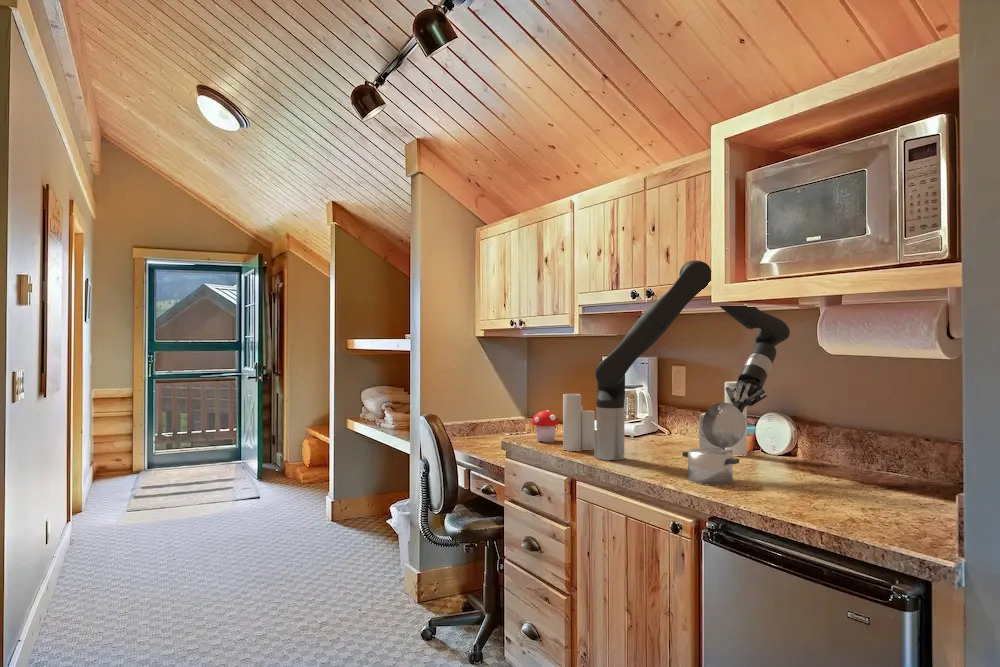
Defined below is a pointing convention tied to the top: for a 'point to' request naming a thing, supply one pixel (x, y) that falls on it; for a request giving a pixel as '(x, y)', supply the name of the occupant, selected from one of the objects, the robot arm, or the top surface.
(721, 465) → the pot
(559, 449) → the top surface
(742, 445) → the cylindrical container
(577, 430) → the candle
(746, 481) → the top surface
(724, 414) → the lid
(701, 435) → the supplement box
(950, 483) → the top surface
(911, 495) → the top surface
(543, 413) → the mushroom
